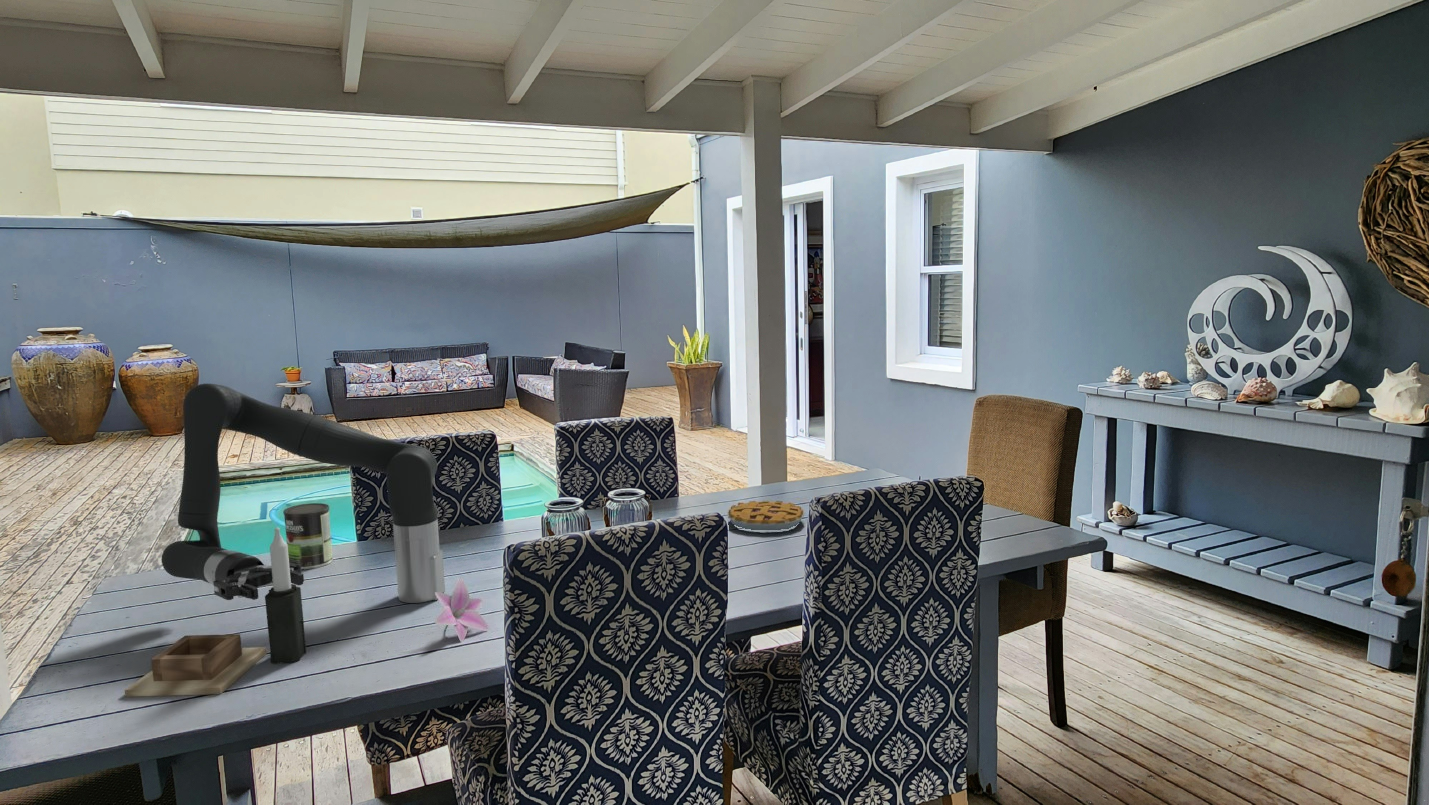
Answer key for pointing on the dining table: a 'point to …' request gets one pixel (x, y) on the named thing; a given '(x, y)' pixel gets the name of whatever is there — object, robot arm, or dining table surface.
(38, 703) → the dining table surface
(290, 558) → the coffee can
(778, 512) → the pie
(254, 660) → the candle stand
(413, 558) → the robot arm
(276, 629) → the candle
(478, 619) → the lily
